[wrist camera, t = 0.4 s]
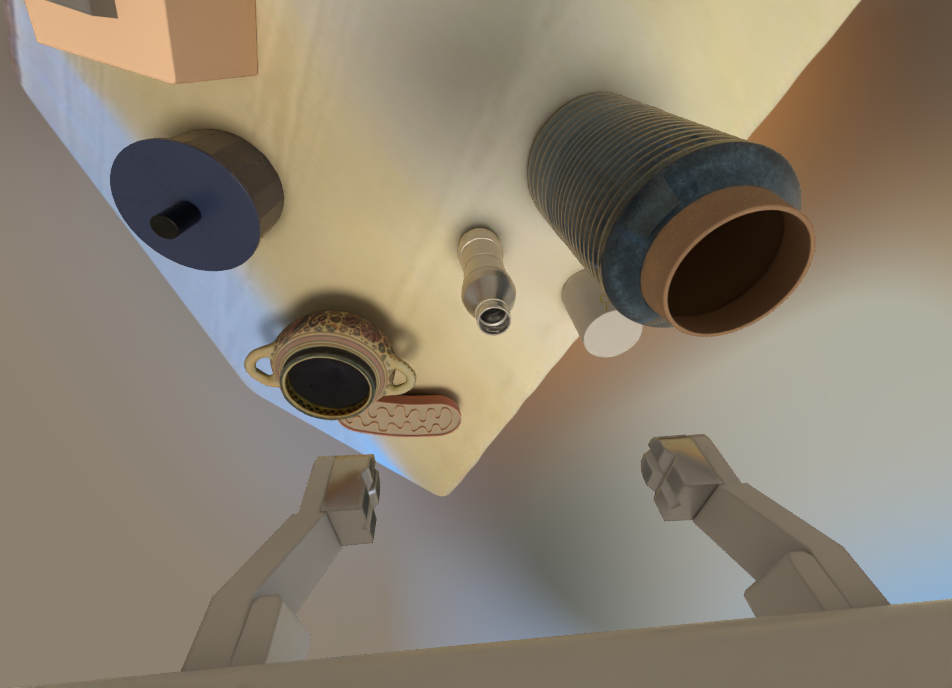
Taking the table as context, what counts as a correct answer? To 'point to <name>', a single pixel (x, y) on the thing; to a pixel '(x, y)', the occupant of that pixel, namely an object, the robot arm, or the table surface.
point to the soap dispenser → (154, 35)
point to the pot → (244, 170)
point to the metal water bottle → (486, 281)
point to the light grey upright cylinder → (598, 318)
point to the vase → (671, 214)
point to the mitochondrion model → (407, 416)
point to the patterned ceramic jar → (331, 365)
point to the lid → (185, 204)
